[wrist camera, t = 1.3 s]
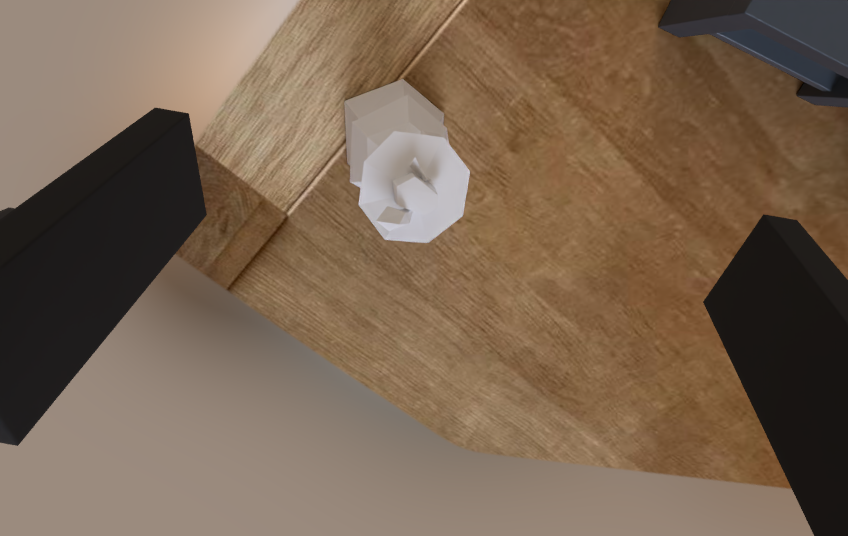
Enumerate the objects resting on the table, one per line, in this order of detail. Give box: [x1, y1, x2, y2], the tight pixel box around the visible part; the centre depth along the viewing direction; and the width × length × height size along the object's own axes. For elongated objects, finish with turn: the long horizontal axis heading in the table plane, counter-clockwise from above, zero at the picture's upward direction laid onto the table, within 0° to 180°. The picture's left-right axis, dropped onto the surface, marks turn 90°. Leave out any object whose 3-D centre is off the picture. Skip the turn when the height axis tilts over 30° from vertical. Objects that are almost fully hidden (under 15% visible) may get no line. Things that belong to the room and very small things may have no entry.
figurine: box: [344, 79, 470, 243], centre depth 27 cm, size 7×8×18 cm
